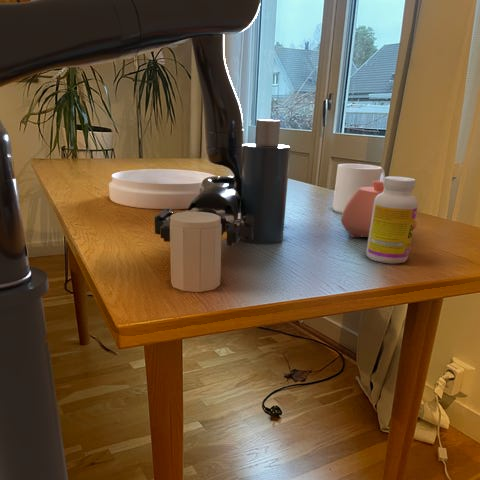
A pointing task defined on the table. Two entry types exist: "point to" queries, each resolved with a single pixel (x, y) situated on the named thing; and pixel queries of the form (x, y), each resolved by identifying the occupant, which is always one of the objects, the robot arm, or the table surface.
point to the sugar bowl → (362, 210)
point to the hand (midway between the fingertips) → (197, 236)
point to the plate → (156, 188)
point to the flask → (265, 183)
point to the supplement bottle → (392, 221)
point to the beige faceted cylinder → (195, 251)
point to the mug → (353, 182)
